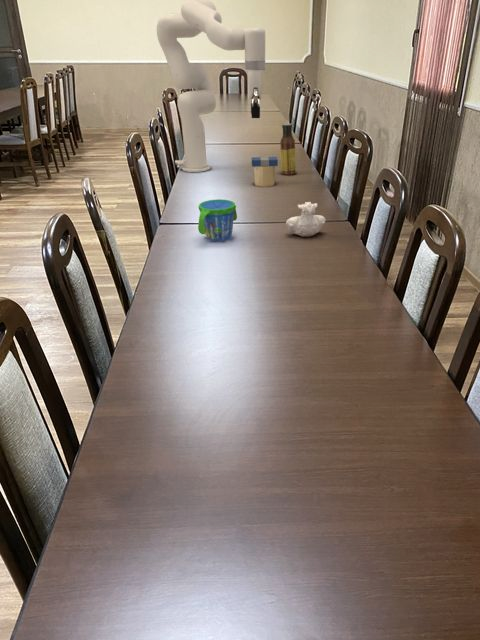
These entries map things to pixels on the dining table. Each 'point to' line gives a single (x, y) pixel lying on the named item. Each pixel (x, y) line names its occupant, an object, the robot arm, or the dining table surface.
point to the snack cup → (217, 219)
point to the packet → (264, 161)
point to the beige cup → (264, 176)
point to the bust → (305, 221)
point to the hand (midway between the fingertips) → (255, 116)
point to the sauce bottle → (288, 151)
